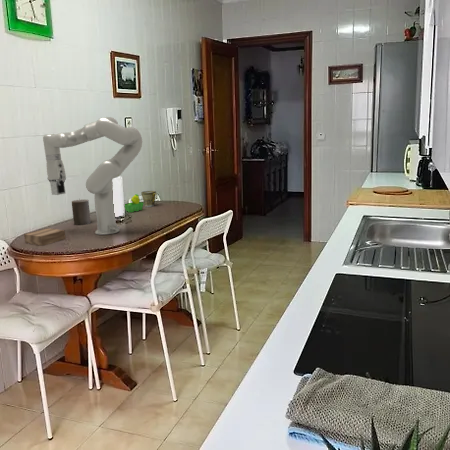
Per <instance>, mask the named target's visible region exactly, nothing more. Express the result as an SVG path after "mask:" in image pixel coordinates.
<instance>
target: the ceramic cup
mask: <svg viewBox="0 0 450 450" xmlns="http://www.w3.org/2000/svg"><path fill="white" fill-rule="evenodd" d="M140 193H141V198H142V201H143V206H144V207H145V208H152V207H155V204H156V203H155V202H156V199H157V198H158V193H157V191H156V190H144V191H141V192H140Z"/></svg>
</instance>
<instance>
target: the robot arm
mask: <svg viewBox="0 0 450 450" xmlns="http://www.w3.org/2000/svg"><path fill="white" fill-rule="evenodd" d="M103 137H105V138H107V139H108V140H111V141H113V142H115V143H117V144H119V145H122V147H121V148H120V149H119V150H118V151H117V152H116V154H114V156H112V157H111V158H110V159H106V160H104V161H102V162H101V163H100V164H98V166H97V167H96V169H95V170H93V172H92V173H91V174H90V175H89V176H88V177H87V179H86V181H85V188H86V190H87V191H88V192H89V193H90V194H93V195H94V207H95V208H94V209H95V217H96V224H97V229H96V230H95V233H94V234H96V235H99V236H100V235H101V236H102V235H103V236H106V235H113V234H116V233H119V232H120V228H121V227H120V226H118V223H116V218H115V213H114V204H113V190H114V189H113V187H114V184H113V180H114V179H115V178H118V177H119V176H120V175H122V174H123V172H124V171H125V170H126V169H127V168H128V167H129V166H130V164H131V163H132V162H133V161H134V160H135V158H136V157H137V156H138V155H139V154H140V152H141V150H142V147H143V137H142V134H141V132H140V131H139V130H138V129H137V128H135V127H124V126H122V125H121V124H119V123H118V121H117V119H116V118H114V117H111V116H110V117H109V116H106V117H105V116H104V117H100V118H98V119H97V120H96V121H92V122H89V123H86V124H84V125H83V127H81V128H80V129H79V128H78V129H76V130H73V131H70V132H61V133H55V134H54V133H53V134H51V133H50V134H44V135H43V136H42V141H43V148H44V153H45V154H44V155H45V160H46V175H47V180H48V181H49V183H50V181H56V180H57V181H58V185H59V186H58V190H59V193H63V192H65V193H66V190H65V191H64V186H65V181H66V179H67V175H66V174H67V173H66V171H65V166H64V163H63V160H62V157H61V149H64V148H73V147H76V146H78V145H81V144H84V143H87V142H88V143H89V142H91V141H94V140H98V139H101V138H103Z"/></svg>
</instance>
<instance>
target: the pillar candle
mask: <svg viewBox="0 0 450 450" xmlns="http://www.w3.org/2000/svg"><path fill="white" fill-rule="evenodd" d="M71 209H72V217H73V225H74V226H75V225H76V226H84V225H89V224H91V223H92V222H91V220H92V219H91V211H90V203H89V199H80V198H79V199H75V200H72V201H71Z"/></svg>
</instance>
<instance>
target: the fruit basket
mask: <svg viewBox="0 0 450 450" xmlns="http://www.w3.org/2000/svg"><path fill="white" fill-rule="evenodd" d="M140 200H141V199H140V197H139V194H138V193H137V194H134V195H133V196H132V197H131V199H130V201H131V202H129V203H124V204H125V206H124V209H125V211H128V212H127V213H135V212H134V211H136V212H140V211H139V210H141V211H143V207H144V202H142V201H140Z"/></svg>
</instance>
